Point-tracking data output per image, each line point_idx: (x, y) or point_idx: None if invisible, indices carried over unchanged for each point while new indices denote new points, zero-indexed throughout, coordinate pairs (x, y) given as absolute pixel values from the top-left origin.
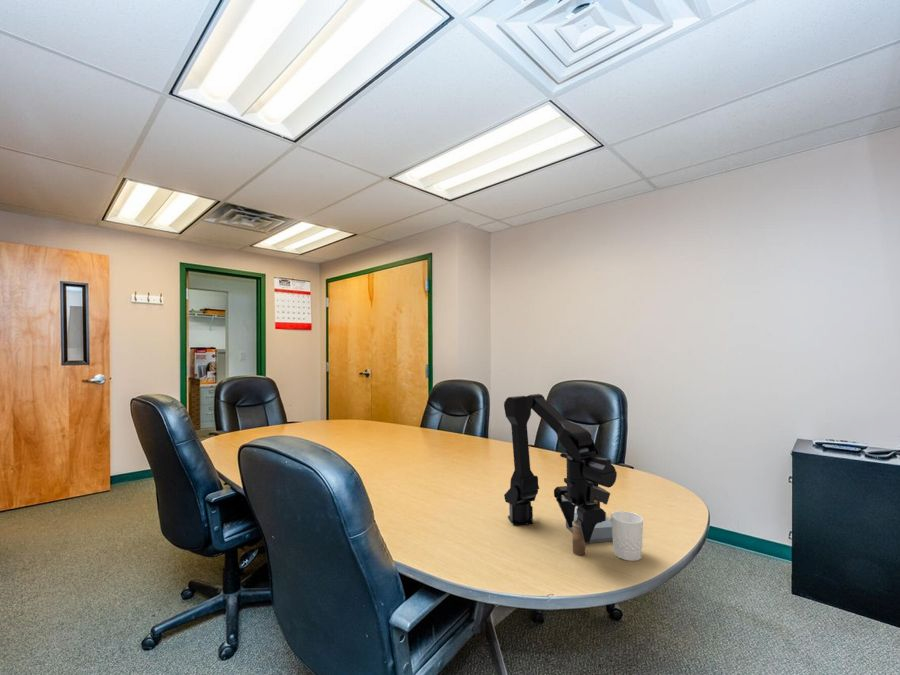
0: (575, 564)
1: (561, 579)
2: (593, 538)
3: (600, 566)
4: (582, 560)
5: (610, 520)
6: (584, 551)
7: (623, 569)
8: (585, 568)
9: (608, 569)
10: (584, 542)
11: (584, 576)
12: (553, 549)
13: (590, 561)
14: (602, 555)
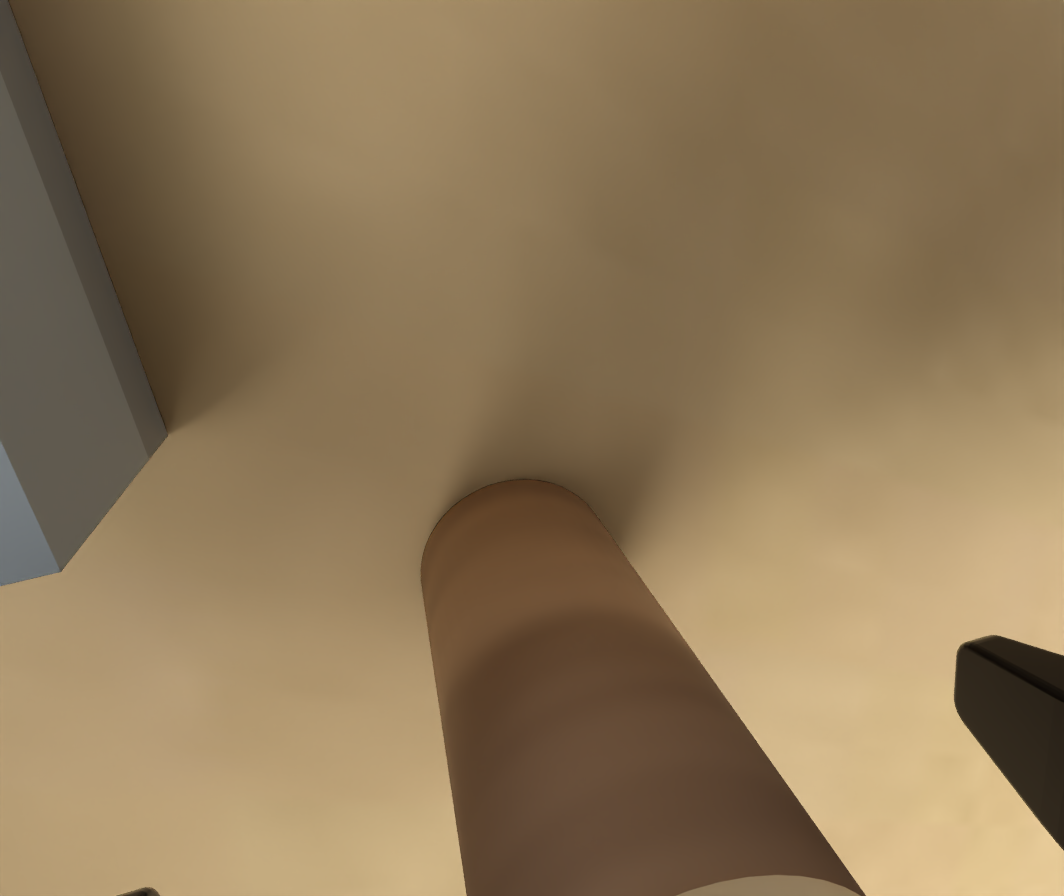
0: (808, 661)
1: (1030, 814)
2: (46, 208)
3: (906, 358)
4: (729, 562)
5: None
6: (603, 527)
7: (1047, 18)
8: (909, 564)
9: (993, 268)
10: (657, 604)
11: (1045, 606)
12: (421, 874)
13: (767, 461)
14: (612, 207)
